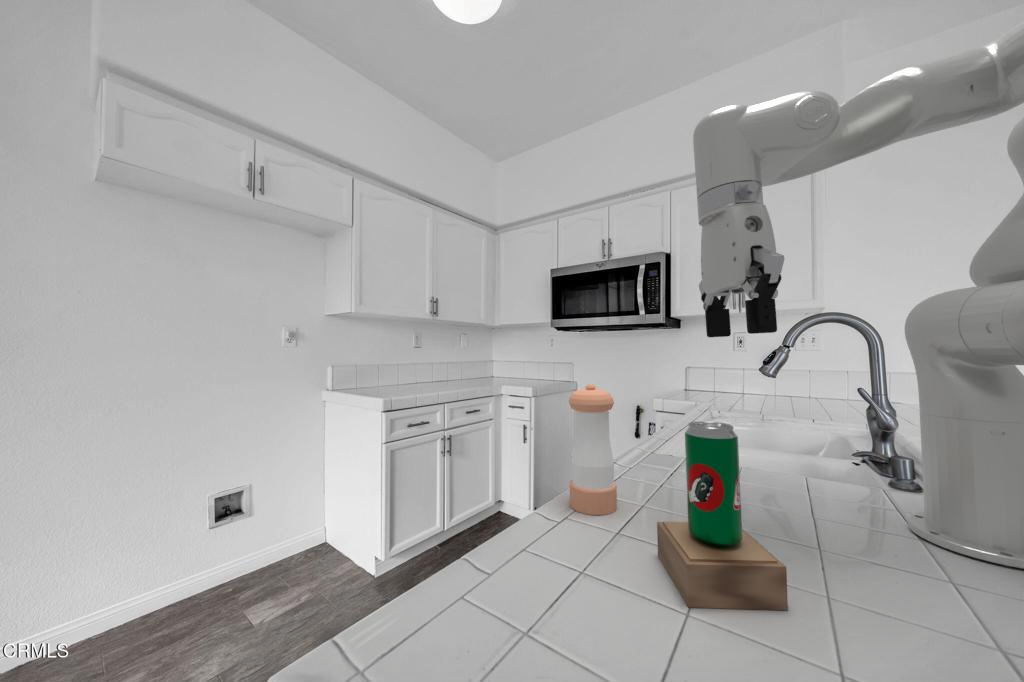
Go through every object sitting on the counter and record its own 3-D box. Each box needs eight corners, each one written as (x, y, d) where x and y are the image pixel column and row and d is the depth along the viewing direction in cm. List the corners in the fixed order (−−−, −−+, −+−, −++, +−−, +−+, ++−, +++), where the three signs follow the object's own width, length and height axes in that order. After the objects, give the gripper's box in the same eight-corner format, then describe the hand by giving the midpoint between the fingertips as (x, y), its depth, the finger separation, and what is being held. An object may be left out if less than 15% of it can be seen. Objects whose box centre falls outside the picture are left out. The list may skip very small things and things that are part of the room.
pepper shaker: (616, 498, 62) (614, 382, 62) (617, 517, 55) (614, 386, 55) (572, 495, 64) (570, 382, 64) (567, 512, 57) (564, 386, 57)
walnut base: (736, 557, 44) (735, 520, 44) (787, 610, 35) (786, 563, 35) (657, 555, 44) (656, 519, 44) (688, 607, 35) (687, 561, 35)
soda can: (751, 552, 37) (745, 429, 37) (695, 548, 38) (691, 428, 38) (732, 529, 42) (727, 421, 42) (683, 526, 43) (679, 420, 43)
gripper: (807, 174, 41) (819, 329, 41) (722, 227, 58) (730, 336, 58) (738, 178, 41) (749, 332, 41) (674, 230, 59) (681, 339, 58)
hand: (738, 335), depth 49 cm, fingers open, 9 cm apart
